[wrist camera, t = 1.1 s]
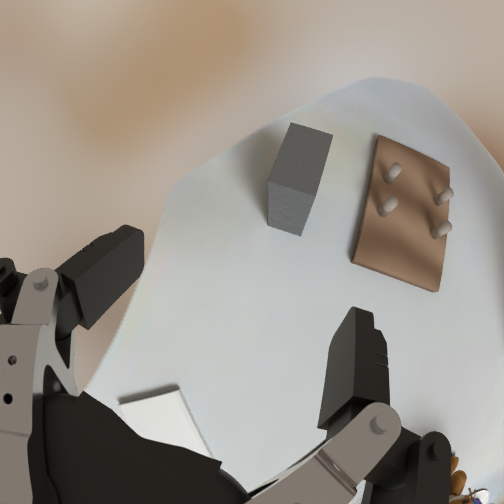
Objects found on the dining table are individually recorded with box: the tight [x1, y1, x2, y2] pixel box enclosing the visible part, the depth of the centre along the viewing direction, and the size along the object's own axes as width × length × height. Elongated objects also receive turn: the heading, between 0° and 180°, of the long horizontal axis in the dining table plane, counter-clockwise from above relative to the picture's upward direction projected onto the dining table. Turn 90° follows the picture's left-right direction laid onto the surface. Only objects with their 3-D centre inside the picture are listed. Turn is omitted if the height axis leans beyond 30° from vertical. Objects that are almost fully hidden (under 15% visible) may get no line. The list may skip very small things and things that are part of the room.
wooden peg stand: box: [351, 135, 454, 292], centre depth 27 cm, size 17×11×4 cm, turn 160°
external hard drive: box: [118, 389, 215, 459], centre depth 24 cm, size 2×8×12 cm
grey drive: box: [268, 123, 333, 236], centre depth 25 cm, size 6×4×10 cm, turn 160°
